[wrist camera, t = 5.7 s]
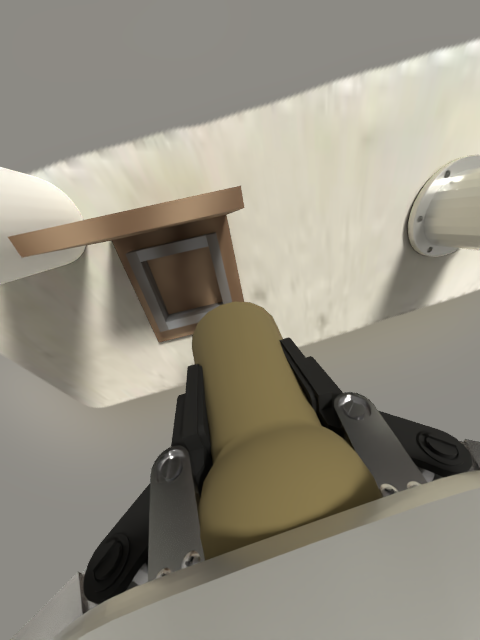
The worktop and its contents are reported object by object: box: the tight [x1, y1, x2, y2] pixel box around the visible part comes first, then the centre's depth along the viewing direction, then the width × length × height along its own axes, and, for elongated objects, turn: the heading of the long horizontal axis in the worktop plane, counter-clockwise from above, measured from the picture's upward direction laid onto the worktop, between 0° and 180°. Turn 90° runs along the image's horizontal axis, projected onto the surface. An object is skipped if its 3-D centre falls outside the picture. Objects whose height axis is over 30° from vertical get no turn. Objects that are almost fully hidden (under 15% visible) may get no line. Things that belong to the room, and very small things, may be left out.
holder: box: [8, 186, 244, 342], centre depth 22 cm, size 14×16×14 cm
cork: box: [192, 301, 382, 561], centre depth 9 cm, size 6×6×11 cm
